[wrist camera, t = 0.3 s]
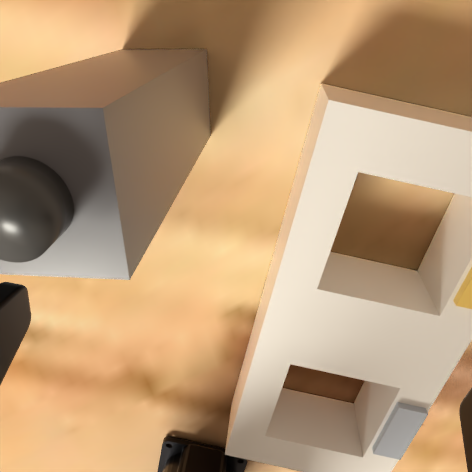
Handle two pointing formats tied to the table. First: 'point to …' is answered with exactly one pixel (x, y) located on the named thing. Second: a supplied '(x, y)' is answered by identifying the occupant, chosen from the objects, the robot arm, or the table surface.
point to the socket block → (358, 295)
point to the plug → (97, 159)
